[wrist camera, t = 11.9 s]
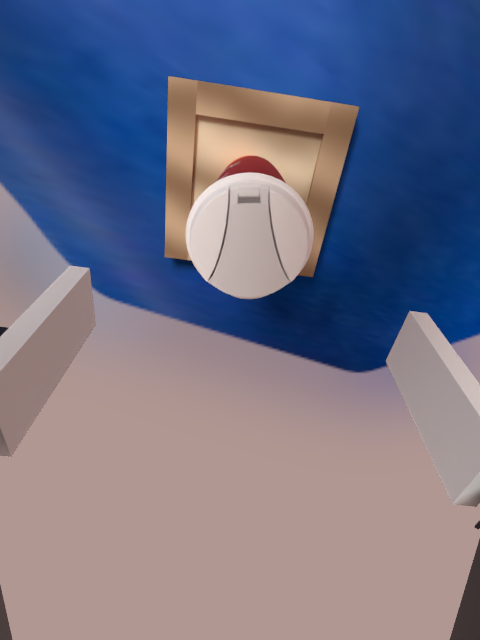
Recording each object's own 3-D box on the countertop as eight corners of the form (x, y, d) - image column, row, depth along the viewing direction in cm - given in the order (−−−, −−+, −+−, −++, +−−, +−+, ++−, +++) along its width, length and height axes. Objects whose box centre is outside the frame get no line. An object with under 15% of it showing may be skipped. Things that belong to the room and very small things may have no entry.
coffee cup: (205, 141, 32) (174, 178, 20) (296, 140, 32) (324, 177, 20) (210, 231, 37) (188, 307, 24) (290, 231, 37) (310, 308, 24)
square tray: (173, 76, 31) (168, 76, 29) (353, 105, 32) (359, 106, 30) (168, 249, 40) (164, 256, 38) (310, 268, 41) (312, 277, 39)
